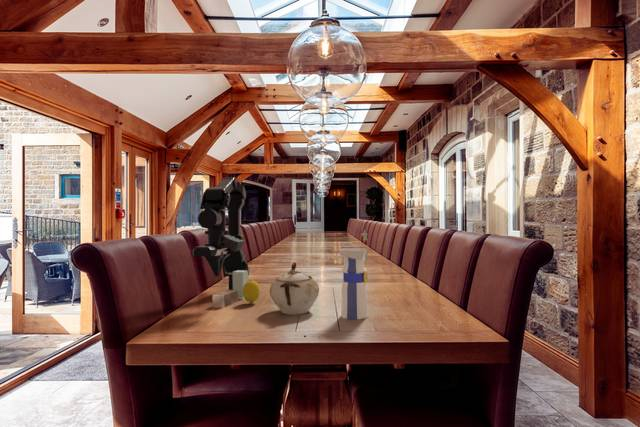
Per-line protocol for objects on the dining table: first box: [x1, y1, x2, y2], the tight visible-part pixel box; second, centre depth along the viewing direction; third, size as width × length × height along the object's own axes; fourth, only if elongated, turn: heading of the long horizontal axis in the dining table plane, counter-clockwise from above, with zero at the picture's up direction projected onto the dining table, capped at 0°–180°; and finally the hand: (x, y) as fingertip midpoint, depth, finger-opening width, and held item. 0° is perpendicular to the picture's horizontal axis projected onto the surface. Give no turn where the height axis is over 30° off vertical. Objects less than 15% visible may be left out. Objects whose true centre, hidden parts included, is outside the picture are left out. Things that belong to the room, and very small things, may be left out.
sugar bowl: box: [269, 262, 320, 316], centre depth 133 cm, size 20×15×15 cm
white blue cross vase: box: [339, 229, 369, 320], centre depth 127 cm, size 8×9×25 cm
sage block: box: [233, 270, 249, 300], centre depth 155 cm, size 4×4×10 cm
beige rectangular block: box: [212, 289, 239, 309], centre depth 145 cm, size 4×4×10 cm
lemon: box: [243, 279, 261, 304], centre depth 145 cm, size 6×6×8 cm
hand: (217, 276), depth 140 cm, fingers closed
